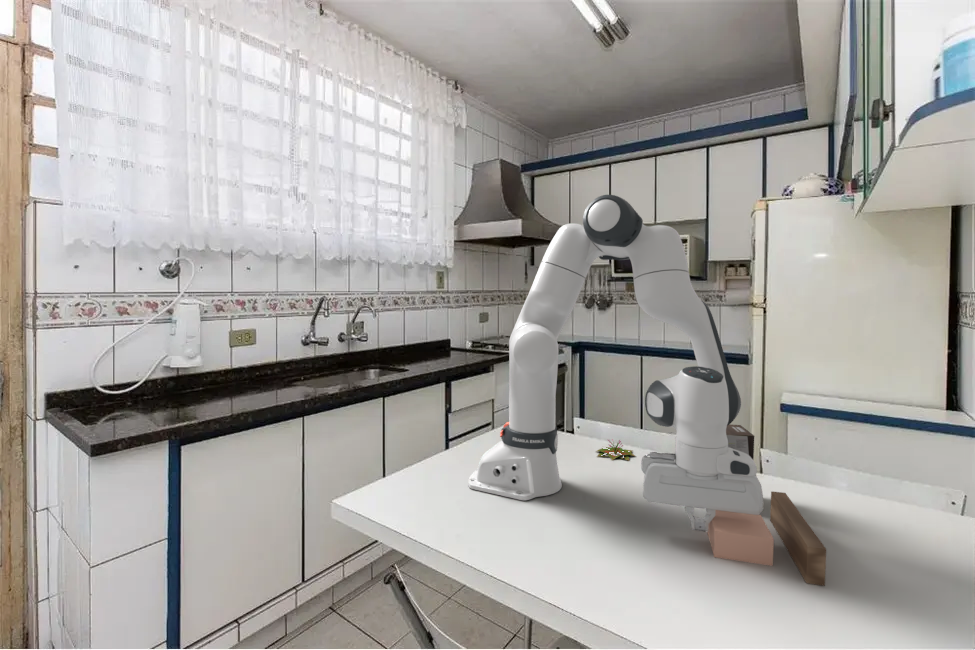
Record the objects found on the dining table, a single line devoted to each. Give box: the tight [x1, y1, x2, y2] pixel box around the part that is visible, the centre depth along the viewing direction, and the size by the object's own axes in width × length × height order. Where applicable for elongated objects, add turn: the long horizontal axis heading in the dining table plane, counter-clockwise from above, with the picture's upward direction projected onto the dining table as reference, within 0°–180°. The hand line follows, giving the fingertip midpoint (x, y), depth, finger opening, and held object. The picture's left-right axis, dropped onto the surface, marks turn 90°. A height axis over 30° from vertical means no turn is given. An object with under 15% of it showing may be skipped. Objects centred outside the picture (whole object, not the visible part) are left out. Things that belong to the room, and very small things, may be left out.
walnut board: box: [769, 490, 827, 587], centre depth 85 cm, size 2×22×6 cm, turn 162°
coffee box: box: [726, 424, 755, 460], centre depth 105 cm, size 9×6×16 cm
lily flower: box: [596, 439, 636, 461], centre depth 136 cm, size 12×12×5 cm
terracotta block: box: [707, 510, 775, 567], centre depth 85 cm, size 9×9×5 cm
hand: (699, 529), depth 88 cm, fingers closed
